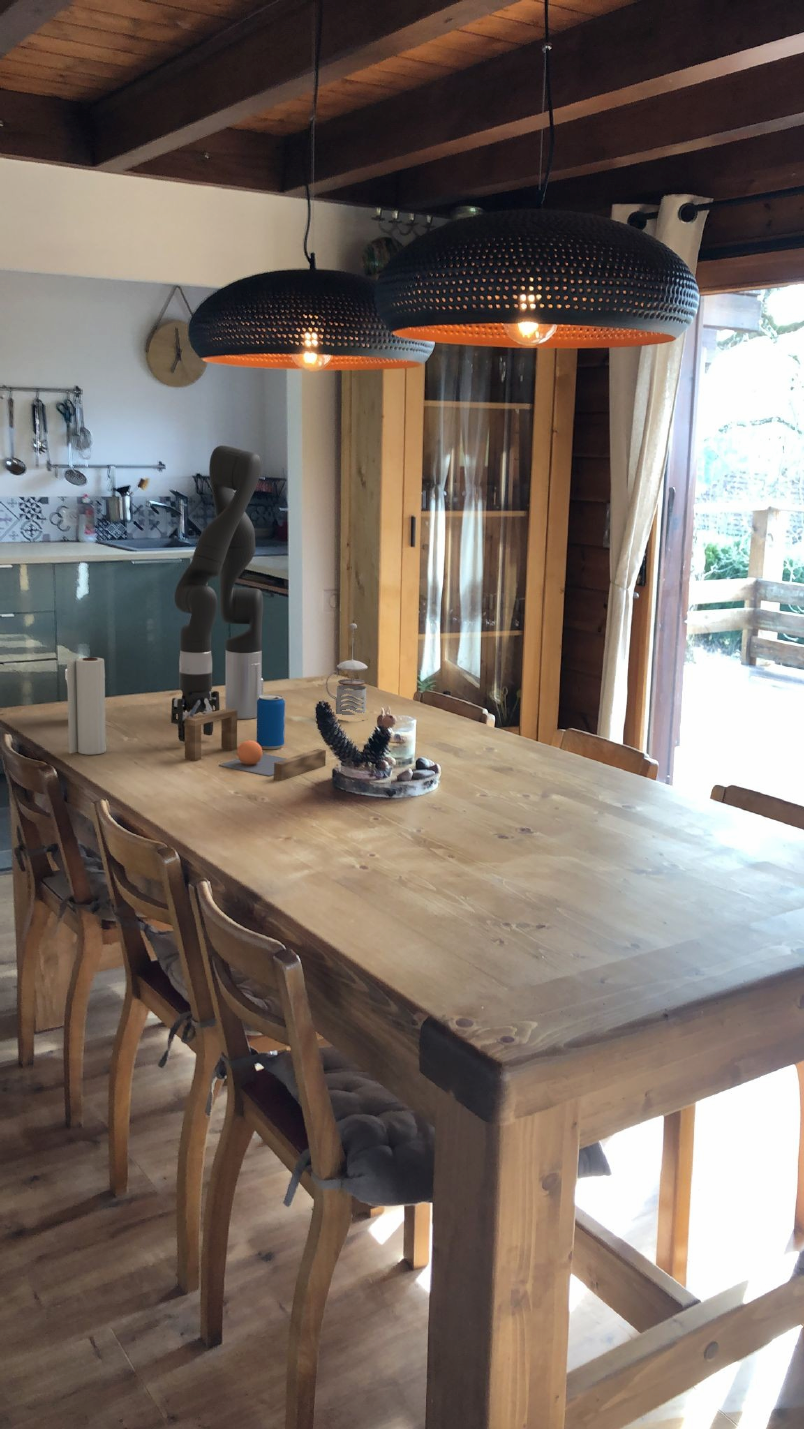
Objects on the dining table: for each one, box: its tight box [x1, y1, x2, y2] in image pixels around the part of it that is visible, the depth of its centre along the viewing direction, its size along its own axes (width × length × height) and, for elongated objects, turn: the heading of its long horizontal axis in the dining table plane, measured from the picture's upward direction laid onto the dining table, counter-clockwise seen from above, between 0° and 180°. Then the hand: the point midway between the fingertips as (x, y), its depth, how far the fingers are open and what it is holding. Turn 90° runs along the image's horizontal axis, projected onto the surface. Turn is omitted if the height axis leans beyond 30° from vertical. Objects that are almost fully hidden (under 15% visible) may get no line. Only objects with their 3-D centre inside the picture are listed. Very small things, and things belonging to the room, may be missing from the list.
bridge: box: [184, 708, 238, 762], centre depth 270 cm, size 3×14×9 cm, turn 148°
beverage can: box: [256, 693, 286, 750], centre depth 279 cm, size 6×6×12 cm
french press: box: [325, 623, 369, 715], centre depth 311 cm, size 10×12×25 cm
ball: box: [236, 739, 264, 765], centre depth 262 cm, size 6×6×6 cm
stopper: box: [273, 748, 327, 781], centre depth 258 cm, size 16×2×4 cm, turn 148°
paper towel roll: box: [66, 656, 107, 756], centre depth 267 cm, size 7×6×21 cm
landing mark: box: [218, 753, 288, 777], centre depth 264 cm, size 14×14×1 cm
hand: (195, 738), depth 280 cm, fingers open, 8 cm apart
